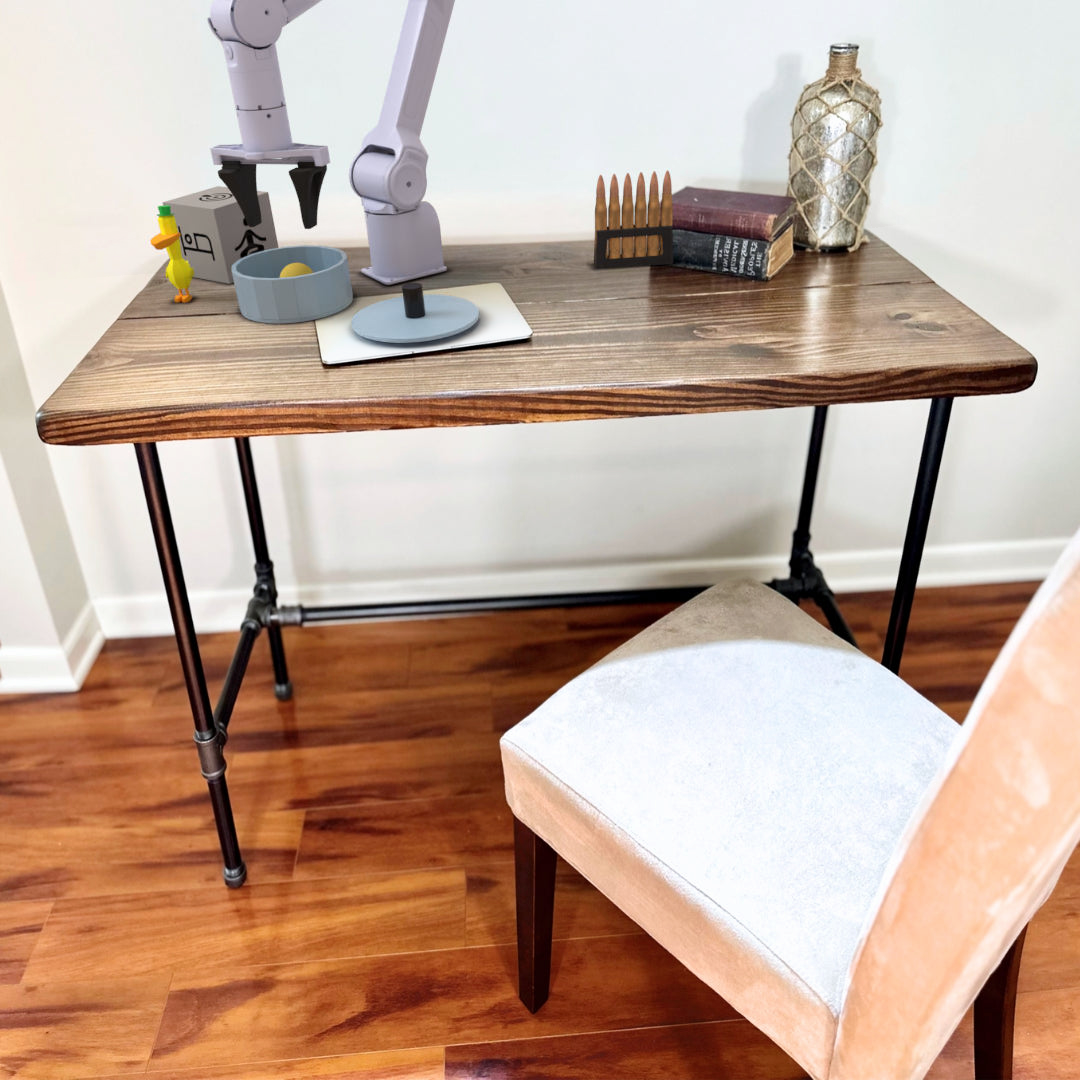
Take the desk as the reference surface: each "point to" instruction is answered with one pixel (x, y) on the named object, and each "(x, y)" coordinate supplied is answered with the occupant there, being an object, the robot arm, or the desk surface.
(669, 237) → the ammunition clip
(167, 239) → the toy figure
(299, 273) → the ball
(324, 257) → the pot
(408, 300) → the lid
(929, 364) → the desk surface
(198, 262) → the icon cube
